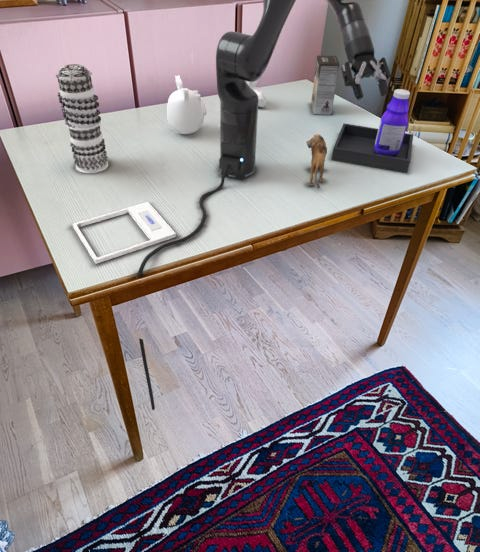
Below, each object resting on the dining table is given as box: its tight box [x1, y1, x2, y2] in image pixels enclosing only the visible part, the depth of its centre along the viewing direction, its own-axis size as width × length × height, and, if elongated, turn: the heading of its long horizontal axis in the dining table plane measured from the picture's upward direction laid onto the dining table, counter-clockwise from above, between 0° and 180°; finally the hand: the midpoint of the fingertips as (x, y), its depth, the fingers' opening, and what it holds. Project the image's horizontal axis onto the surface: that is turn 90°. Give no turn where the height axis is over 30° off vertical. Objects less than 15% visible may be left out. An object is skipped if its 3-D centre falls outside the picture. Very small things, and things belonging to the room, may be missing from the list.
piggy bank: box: [166, 74, 207, 135], centre depth 136 cm, size 12×12×15 cm
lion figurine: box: [306, 133, 328, 189], centre depth 120 cm, size 15×5×9 cm, turn 0°
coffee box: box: [310, 54, 341, 116], centre depth 151 cm, size 9×6×16 cm
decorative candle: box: [55, 63, 109, 174], centre depth 115 cm, size 9×9×25 cm
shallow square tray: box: [331, 122, 414, 174], centre depth 133 cm, size 18×21×4 cm
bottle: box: [374, 88, 411, 156], centre depth 127 cm, size 7×6×17 cm
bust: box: [246, 79, 267, 108], centre depth 155 cm, size 12×8×11 cm
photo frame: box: [71, 201, 177, 265], centre depth 101 cm, size 15×1×18 cm
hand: (372, 96), depth 132 cm, fingers open, 8 cm apart
